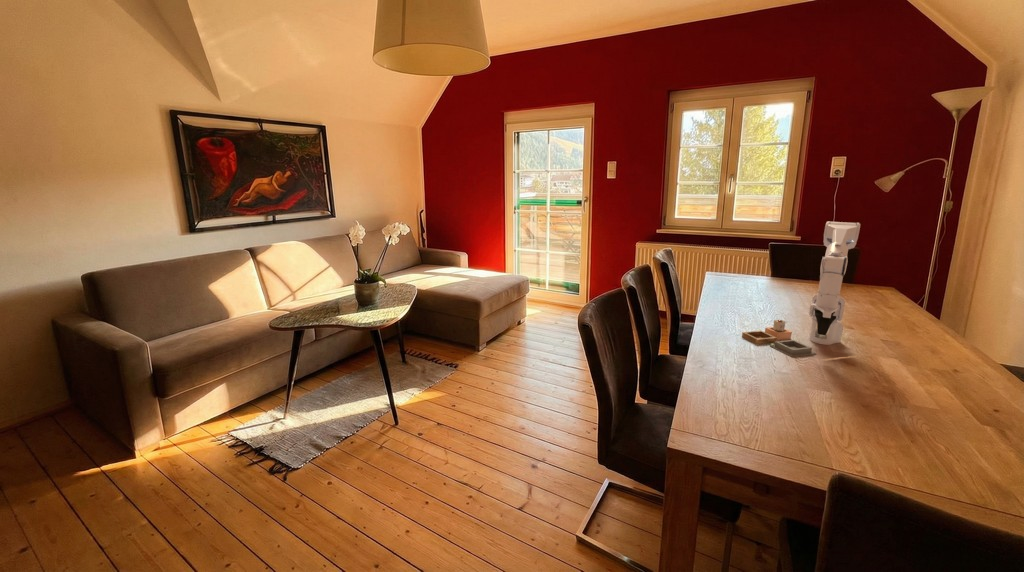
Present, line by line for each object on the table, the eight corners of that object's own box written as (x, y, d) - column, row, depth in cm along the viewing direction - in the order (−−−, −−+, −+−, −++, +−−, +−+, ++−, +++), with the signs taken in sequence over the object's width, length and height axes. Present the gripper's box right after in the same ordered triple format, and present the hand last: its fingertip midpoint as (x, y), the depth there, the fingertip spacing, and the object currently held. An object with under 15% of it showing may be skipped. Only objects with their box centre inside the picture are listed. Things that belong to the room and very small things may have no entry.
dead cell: (777, 334, 164) (780, 318, 163) (785, 337, 161) (788, 321, 159) (769, 335, 163) (772, 319, 162) (777, 338, 160) (779, 322, 158)
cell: (820, 334, 146) (823, 316, 144) (830, 338, 142) (833, 320, 140) (811, 335, 145) (815, 317, 143) (821, 339, 141) (824, 321, 140)
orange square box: (777, 334, 166) (779, 326, 165) (790, 340, 160) (791, 331, 159) (764, 335, 164) (765, 327, 164) (776, 341, 159) (777, 333, 158)
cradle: (792, 345, 155) (793, 338, 155) (815, 356, 146) (817, 348, 146) (769, 347, 154) (770, 340, 153) (791, 358, 144) (792, 351, 144)
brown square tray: (760, 336, 164) (760, 330, 163) (775, 343, 157) (776, 337, 156) (741, 338, 162) (742, 332, 162) (756, 345, 155) (757, 339, 155)
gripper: (812, 286, 148) (806, 323, 151) (814, 296, 136) (807, 337, 139) (838, 289, 144) (830, 327, 147) (842, 299, 132) (834, 341, 136)
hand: (821, 332), depth 143 cm, fingers closed on cell, 4 cm apart
